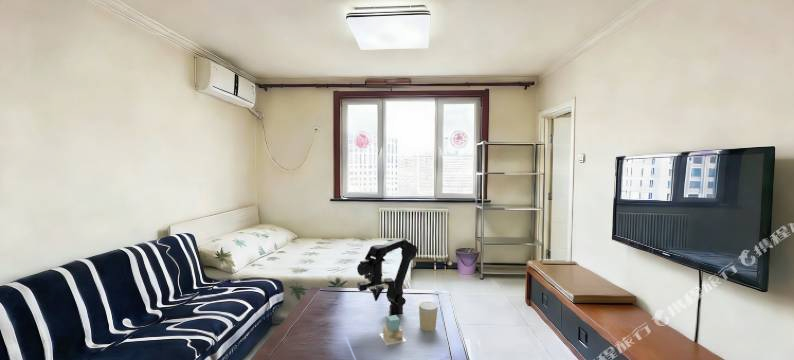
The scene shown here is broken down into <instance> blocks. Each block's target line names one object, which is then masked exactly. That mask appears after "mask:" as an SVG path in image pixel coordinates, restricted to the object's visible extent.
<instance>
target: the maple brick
mask: <svg viewBox="0 0 794 360" xmlns="http://www.w3.org/2000/svg"><path fill="white" fill-rule="evenodd" d="M382 331H383V332H382V333H383V335H384V337H385V338H386V340H387V342H388V343H390V342H395V341H400V340H402V339H403V337H404V335H403V333H404V332H403V329H402V327H400V325H399V330H395V331H389V329H388V328H387V324H385V325H383V328H382Z"/></svg>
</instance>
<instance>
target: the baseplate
mask: <svg viewBox="0 0 794 360" xmlns="http://www.w3.org/2000/svg"><path fill="white" fill-rule="evenodd" d="M379 336H380V337H381V339H382V341H383V342H384V344H385V346H389V345H396V344H399V343H400V344H401V343H404V342H407V339H406V338H405V336H403V339H402V340H400V341H395V342H390V343H388V342H387V340H386V338H385V337H384V335H383V332H382V333H379Z"/></svg>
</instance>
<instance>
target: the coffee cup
mask: <svg viewBox="0 0 794 360" xmlns="http://www.w3.org/2000/svg"><path fill="white" fill-rule="evenodd" d="M438 308H439V307H438V305H437V304H436V303H435V302H432V301H423V302H420V303H419V306H418V309H419V312H418V314H419V328H420V329H421V330H422V331H424V332H425V331H426V332H431V333H435V331H436V328H437V327H436V326H437V319H438V317H437V316H438V315H437V314H438Z"/></svg>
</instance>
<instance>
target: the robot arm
mask: <svg viewBox="0 0 794 360" xmlns="http://www.w3.org/2000/svg"><path fill="white" fill-rule="evenodd" d="M397 249H401V252H400V254H401V261H400V264H399V266H398V270H397V272H396V275H395V278H394V280H393V279H392V278H391V277H389V278H386V277H385V278H384V280H382V279H383V276H384V275H383V262H386V259H385V257H386V256H387V255H388V253H390V252H392V251H395V250H397ZM417 254H418V247H417V245H416V244H415V245H414V244H413V243H411V242H409V241H408V240H407V239H406V238H403V237H398V238H397V239H395V240H391V241H390V242H386V243H384V244H375V245H374V244H373V245H372V246H370V248H369V250H368V252H367V254H366V255H365V257H364V260H360V261H359V264H358V265H357V267H356V270H357V274H358V275H359V276H361V277H364V279H365V280H367V281H368V282H366V281H365V280H363V281H358V282H357V283H356V288H357V289H358V291H360V292H364V291H365V292H366V291H367V290H369V291H370V292H371V293H372V295H373V299H374V301H375V302H377V301H378V299H379V298H380V295H381V293H382V292H383V291H384V290H385V288H384V286H386V285H387V286H388V287H387V290H386V292H385V294H386V295H385V296H386V298H387V301H388V302H389V303H390V305H389V311H388V312H389V314H390V316H392V315H396V316H398V315H404V310H403V309H404V305H405V304H406V301H407V300H406V298H405V297H404V296H403V295H404V288H403V285H404V282H405V279H406V276H407V273H408V271H409V267H410V264H411V262H412V261H413V260H414V259H415V258H416V255H417Z"/></svg>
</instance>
